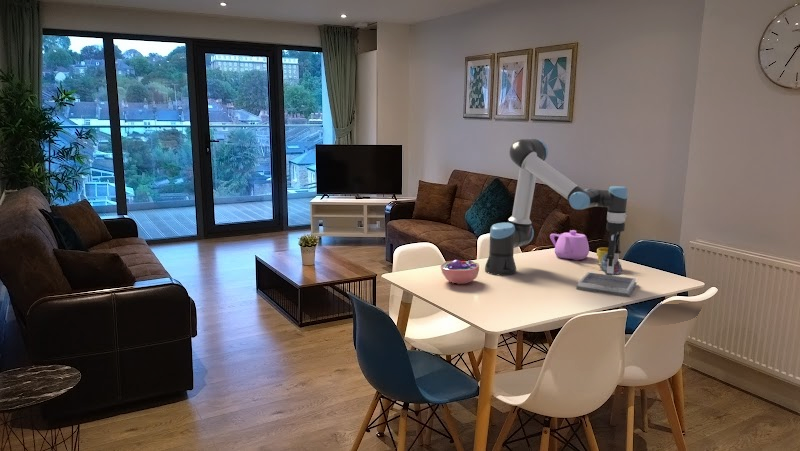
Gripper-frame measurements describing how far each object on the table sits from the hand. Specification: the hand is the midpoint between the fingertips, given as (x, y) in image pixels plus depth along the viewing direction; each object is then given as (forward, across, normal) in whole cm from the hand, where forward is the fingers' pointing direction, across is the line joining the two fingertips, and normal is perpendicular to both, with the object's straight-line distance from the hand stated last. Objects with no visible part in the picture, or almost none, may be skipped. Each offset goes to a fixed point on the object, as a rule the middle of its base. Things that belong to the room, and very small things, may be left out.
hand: (612, 270), depth 252 cm
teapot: (+8, +49, +29) cm, 57 cm away
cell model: (+8, -29, +61) cm, 68 cm away
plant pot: (+8, +35, +8) cm, 36 cm away
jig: (+8, 0, +2) cm, 8 cm away
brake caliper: (+2, 0, +1) cm, 2 cm away
